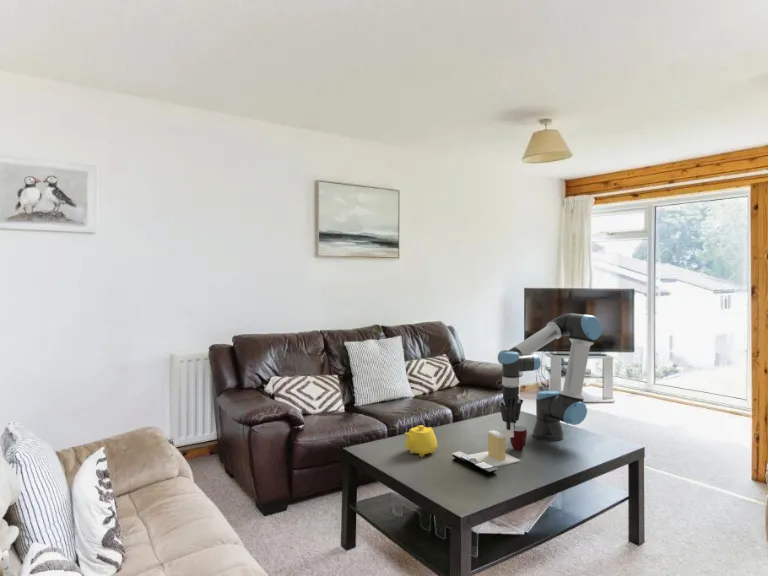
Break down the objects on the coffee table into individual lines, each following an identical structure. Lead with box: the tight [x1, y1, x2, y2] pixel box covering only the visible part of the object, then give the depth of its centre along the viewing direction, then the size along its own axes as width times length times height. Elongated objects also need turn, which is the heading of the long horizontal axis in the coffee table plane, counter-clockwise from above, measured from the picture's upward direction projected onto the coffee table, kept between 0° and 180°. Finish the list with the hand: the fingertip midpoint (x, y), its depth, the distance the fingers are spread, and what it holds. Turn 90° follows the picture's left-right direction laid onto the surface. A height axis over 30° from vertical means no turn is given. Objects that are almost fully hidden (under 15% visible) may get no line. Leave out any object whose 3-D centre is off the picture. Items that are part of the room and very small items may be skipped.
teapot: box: [404, 424, 438, 458], centre depth 234 cm, size 14×20×13 cm
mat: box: [468, 450, 521, 468], centre depth 226 cm, size 21×16×1 cm
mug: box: [509, 425, 528, 452], centre depth 238 cm, size 10×8×10 cm
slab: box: [487, 430, 506, 461], centre depth 227 cm, size 4×8×11 cm, turn 25°
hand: (510, 436), depth 230 cm, fingers closed
